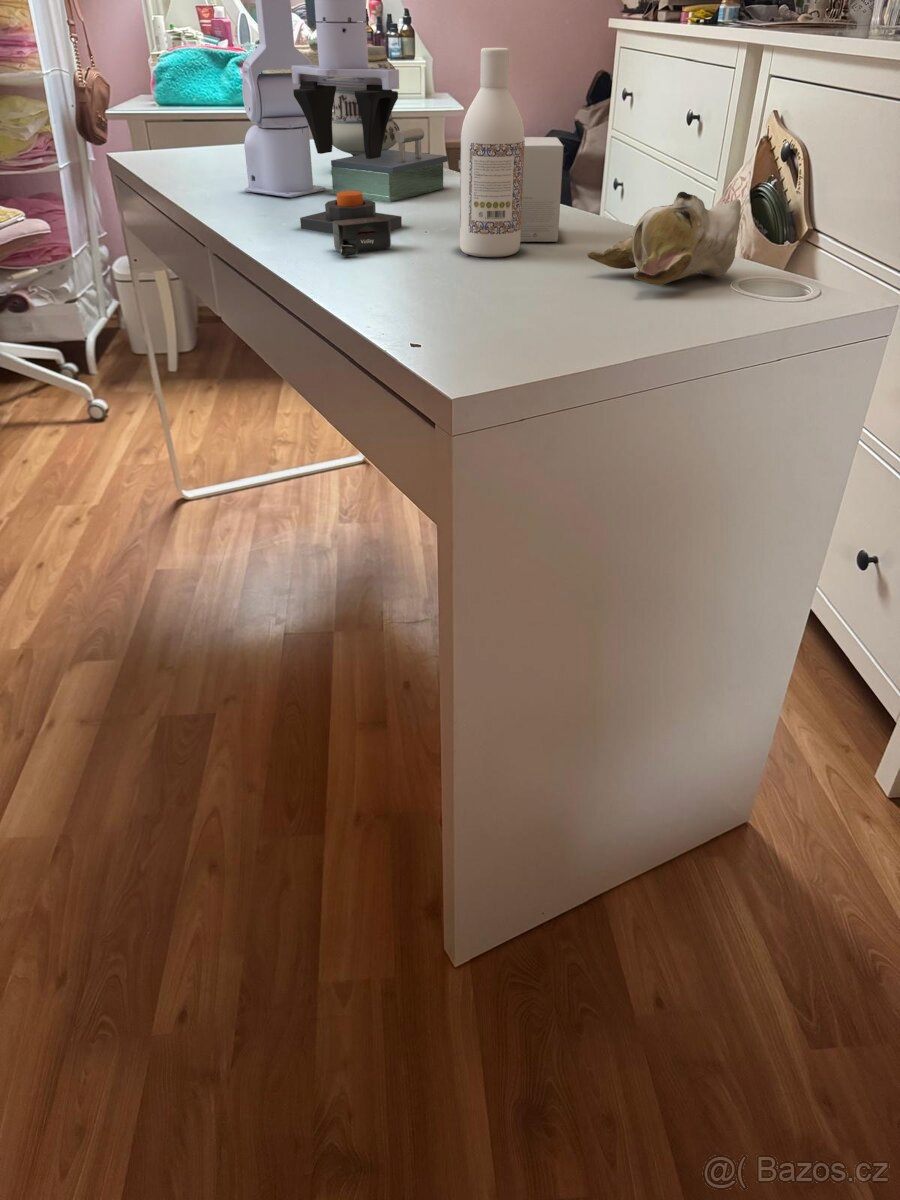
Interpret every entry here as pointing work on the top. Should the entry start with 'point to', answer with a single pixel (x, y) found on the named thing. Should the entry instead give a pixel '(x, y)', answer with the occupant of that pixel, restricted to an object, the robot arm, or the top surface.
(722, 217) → the ceramic sculpture
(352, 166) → the lid
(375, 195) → the green hinged box
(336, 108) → the apothecary jar
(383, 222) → the dark grey gadget
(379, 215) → the control block
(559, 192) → the small box
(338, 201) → the button
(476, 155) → the bath foam
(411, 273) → the top surface
